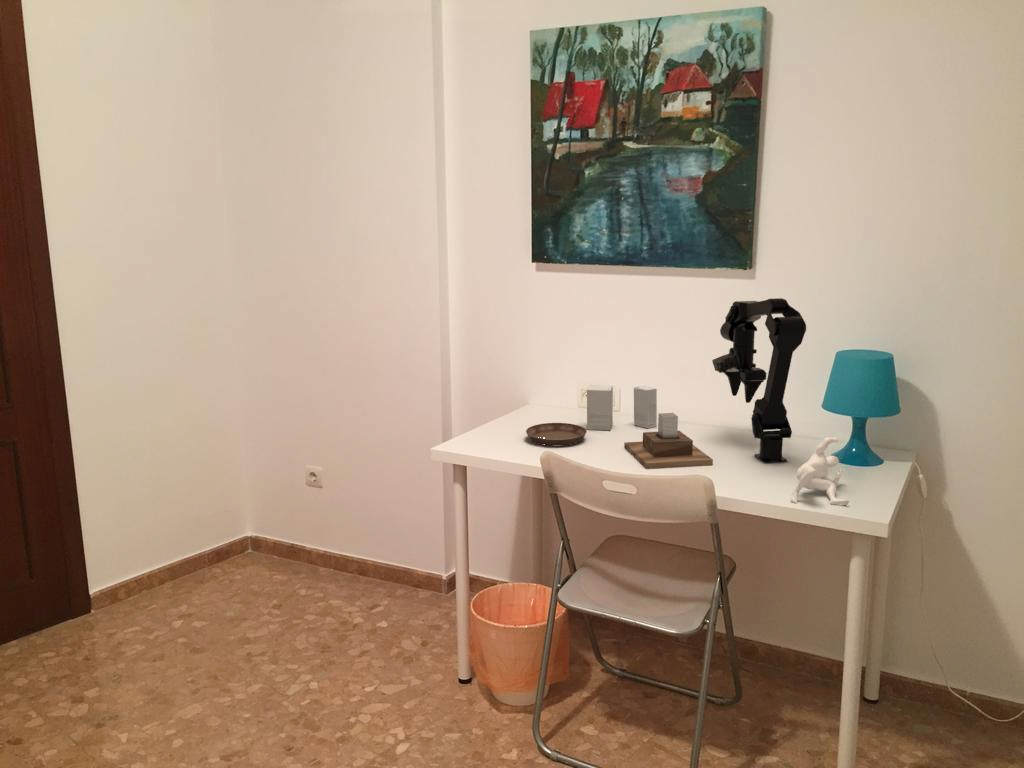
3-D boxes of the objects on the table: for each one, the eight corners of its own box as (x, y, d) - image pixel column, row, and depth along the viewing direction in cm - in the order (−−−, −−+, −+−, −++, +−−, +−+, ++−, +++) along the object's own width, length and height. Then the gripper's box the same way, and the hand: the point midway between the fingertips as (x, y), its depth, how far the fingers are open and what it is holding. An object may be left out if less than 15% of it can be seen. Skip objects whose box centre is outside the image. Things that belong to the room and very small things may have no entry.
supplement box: (613, 425, 260) (613, 385, 258) (610, 431, 253) (611, 390, 250) (589, 423, 262) (589, 384, 259) (586, 429, 255) (586, 389, 252)
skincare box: (657, 426, 258) (658, 388, 255) (647, 429, 255) (648, 390, 252) (642, 422, 262) (643, 385, 260) (632, 425, 259) (633, 387, 257)
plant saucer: (573, 451, 233) (573, 441, 232) (516, 444, 240) (516, 434, 240) (595, 436, 249) (595, 426, 248) (540, 430, 256) (540, 420, 255)
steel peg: (676, 452, 225) (677, 416, 223) (662, 453, 224) (663, 416, 222) (671, 448, 229) (672, 412, 227) (657, 449, 228) (658, 413, 226)
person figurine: (845, 463, 183) (836, 429, 200) (785, 471, 187) (781, 436, 204) (853, 515, 187) (844, 477, 204) (794, 521, 191) (789, 483, 208)
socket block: (712, 465, 219) (713, 444, 217) (646, 468, 216) (646, 448, 215) (685, 444, 238) (686, 425, 237) (624, 447, 235) (624, 428, 234)
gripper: (703, 341, 245) (702, 393, 248) (729, 351, 227) (727, 407, 230) (740, 340, 246) (737, 391, 249) (768, 350, 228) (765, 405, 231)
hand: (741, 399), depth 240 cm, fingers open, 9 cm apart
